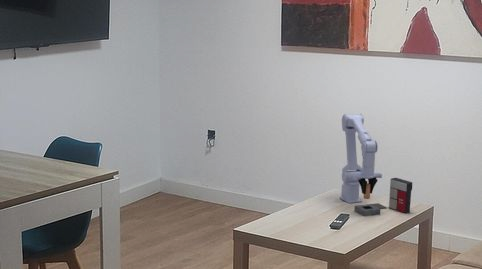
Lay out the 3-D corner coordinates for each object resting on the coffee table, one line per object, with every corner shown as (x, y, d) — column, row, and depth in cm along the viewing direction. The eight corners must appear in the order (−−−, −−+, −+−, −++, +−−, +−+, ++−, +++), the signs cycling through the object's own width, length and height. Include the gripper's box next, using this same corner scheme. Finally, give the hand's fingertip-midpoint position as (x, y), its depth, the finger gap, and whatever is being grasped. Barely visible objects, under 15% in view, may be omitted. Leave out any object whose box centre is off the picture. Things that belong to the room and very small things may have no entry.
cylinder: (362, 197, 372) (362, 183, 370) (367, 197, 373) (368, 183, 372) (365, 199, 369) (366, 185, 368) (371, 198, 370) (371, 184, 369)
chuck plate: (354, 210, 375) (354, 205, 374) (370, 209, 378) (370, 204, 377) (363, 216, 366) (364, 211, 366) (380, 214, 370) (380, 209, 369)
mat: (365, 205, 384) (365, 204, 383) (378, 204, 386) (378, 203, 386) (373, 209, 377) (373, 208, 377) (386, 208, 379) (386, 207, 379)
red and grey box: (387, 208, 380) (389, 178, 377) (393, 206, 382) (395, 177, 379) (404, 213, 371) (406, 183, 368) (410, 212, 374) (412, 182, 371)
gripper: (359, 168, 362) (357, 196, 364) (386, 166, 367) (384, 194, 369) (351, 165, 368) (350, 192, 371) (378, 163, 373) (376, 190, 376)
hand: (366, 193), depth 370 cm, fingers closed on cylinder, 3 cm apart
